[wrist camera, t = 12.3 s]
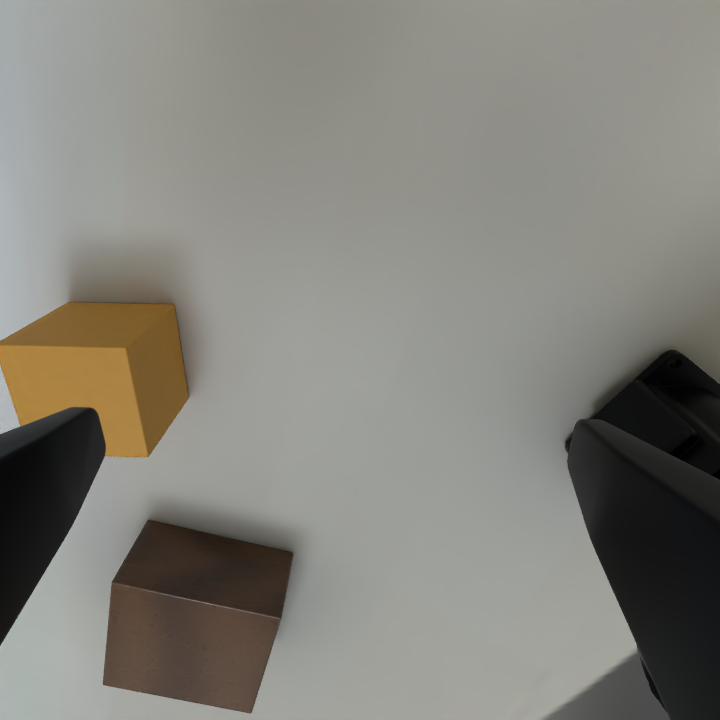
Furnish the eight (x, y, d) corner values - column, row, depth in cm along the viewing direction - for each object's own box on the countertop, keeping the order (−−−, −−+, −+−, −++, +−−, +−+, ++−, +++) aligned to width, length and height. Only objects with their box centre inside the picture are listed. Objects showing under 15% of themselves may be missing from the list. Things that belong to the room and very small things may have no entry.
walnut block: (294, 552, 27) (281, 618, 23) (265, 644, 30) (251, 714, 27) (147, 519, 26) (111, 582, 23) (135, 617, 30) (102, 685, 26)
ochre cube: (174, 304, 21) (125, 347, 17) (189, 398, 23) (148, 457, 19) (67, 301, 21) (-7, 344, 17) (91, 395, 23) (29, 454, 19)
